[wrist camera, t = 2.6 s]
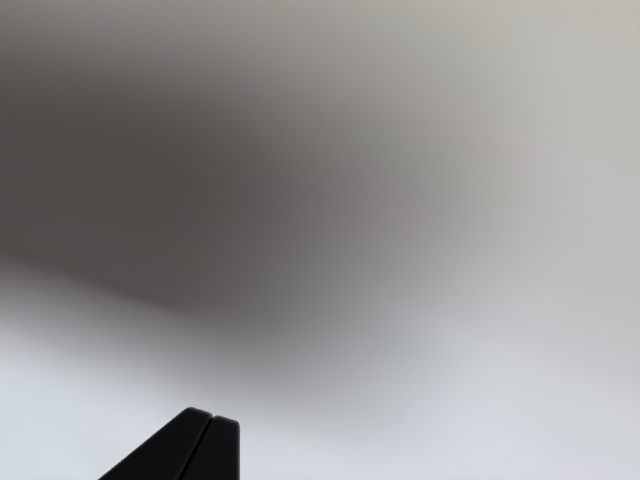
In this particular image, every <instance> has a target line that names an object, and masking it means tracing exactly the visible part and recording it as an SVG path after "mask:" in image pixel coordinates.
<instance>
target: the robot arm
mask: <svg viewBox="0 0 640 480" xmlns="http://www.w3.org/2000/svg"><path fill="white" fill-rule="evenodd" d="M98 480H240V425H239V423H238V422H237V421H235V420H232V419H229V418H225V417H222V416H215V417H213V415H212V414H211V413H209V412H206V411H203V410H200V409H197V408H194V407H189V408H186V409H185V410H183V411H182V412H181V413H179V414H178V415H177V416H176V417H174V418H173V419H172V420H171V421H170V422H168V423H167V424H166V425H165V426H163V427H162V428H161V429H160V430H158V431H157V432H156V433H155V434H154V435H152V436H151V437H150V438H149V439H147V440H146V441H145V442H144V443H142V444H141V445H140V446H139V447H138V448H136V449H135V450H134V451H133V452H131V453H130V454H129V455H128V456H126V457H125V458H124V459H123V460H121V461H120V462H119V463H118V464H117V465H115V466H114V467H113V468H112V469H110V470H109V471H108V472H107V473H105V474H104V475H103V476H102V477H101V478H99V479H98Z"/></svg>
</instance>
